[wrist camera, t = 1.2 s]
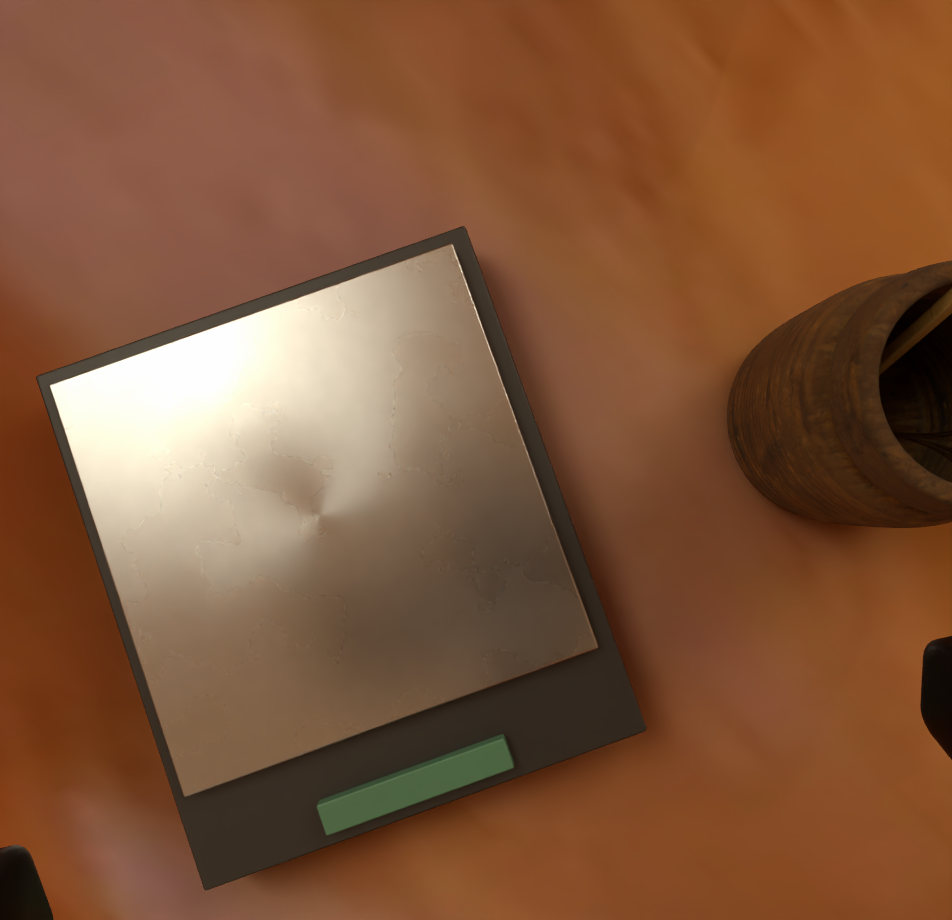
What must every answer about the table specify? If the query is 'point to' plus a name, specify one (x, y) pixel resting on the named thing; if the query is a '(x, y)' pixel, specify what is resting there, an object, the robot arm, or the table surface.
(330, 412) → the kitchen scale
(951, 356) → the utensil holder
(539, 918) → the table surface
